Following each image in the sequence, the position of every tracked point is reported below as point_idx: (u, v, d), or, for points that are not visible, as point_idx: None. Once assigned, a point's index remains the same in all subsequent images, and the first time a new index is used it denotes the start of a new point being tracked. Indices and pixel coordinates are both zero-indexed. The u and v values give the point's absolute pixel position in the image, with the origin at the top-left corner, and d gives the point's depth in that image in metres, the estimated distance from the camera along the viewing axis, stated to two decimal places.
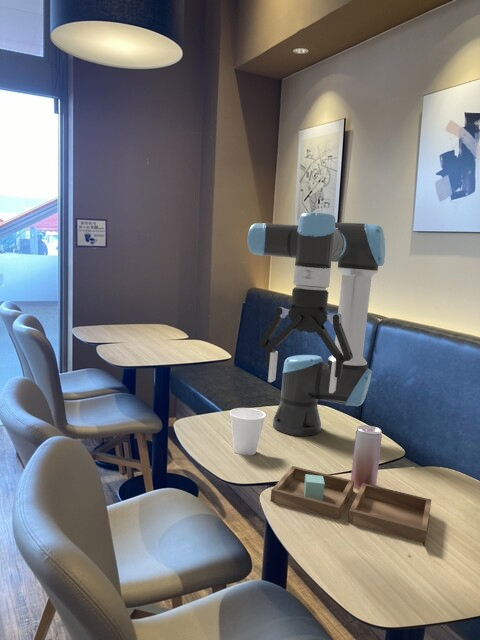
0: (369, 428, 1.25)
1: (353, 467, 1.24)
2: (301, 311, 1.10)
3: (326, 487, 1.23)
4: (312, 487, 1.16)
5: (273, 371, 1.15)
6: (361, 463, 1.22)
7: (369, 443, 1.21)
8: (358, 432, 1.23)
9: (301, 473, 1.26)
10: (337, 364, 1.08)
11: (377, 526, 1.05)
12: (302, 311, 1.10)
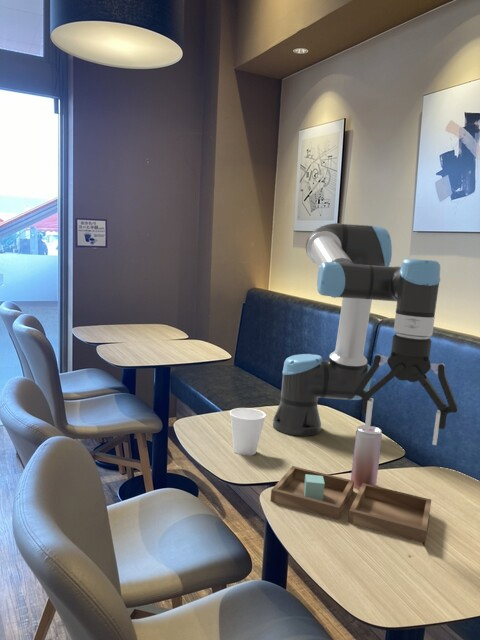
0: None
1: (353, 467, 1.24)
2: (402, 360, 1.06)
3: (326, 487, 1.23)
4: (312, 487, 1.16)
5: (369, 420, 1.11)
6: (361, 463, 1.22)
7: (369, 443, 1.21)
8: (358, 432, 1.23)
9: (301, 473, 1.26)
10: (441, 415, 1.05)
11: (377, 526, 1.05)
12: (403, 360, 1.06)
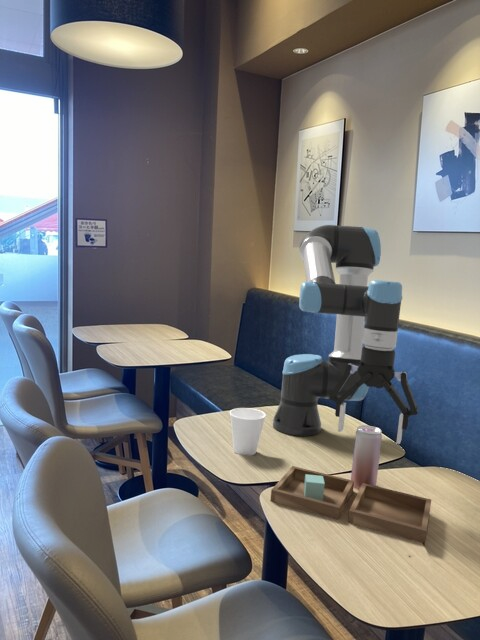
0: (369, 428, 1.25)
1: (353, 467, 1.24)
2: (370, 368, 1.21)
3: (326, 487, 1.23)
4: (312, 487, 1.16)
5: (342, 421, 1.25)
6: (361, 463, 1.22)
7: (369, 443, 1.21)
8: (358, 432, 1.23)
9: (301, 473, 1.26)
10: (404, 417, 1.19)
11: (377, 526, 1.05)
12: (371, 368, 1.21)
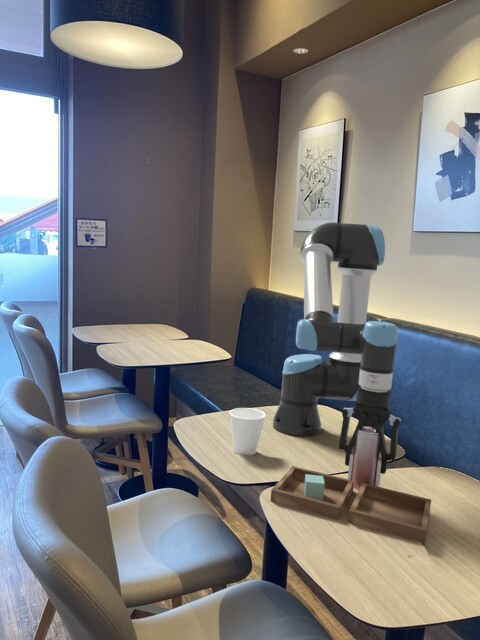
0: (369, 428, 1.25)
1: (353, 467, 1.24)
2: (364, 406, 1.23)
3: (326, 487, 1.23)
4: (312, 487, 1.16)
5: None
6: (360, 463, 1.22)
7: (369, 443, 1.21)
8: (358, 432, 1.23)
9: (301, 473, 1.26)
10: (382, 462, 1.22)
11: (377, 526, 1.05)
12: (365, 405, 1.22)
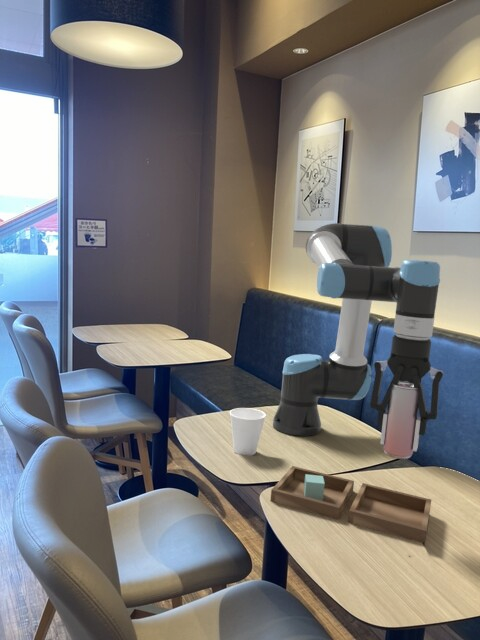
0: (405, 383, 1.09)
1: (387, 428, 1.08)
2: (400, 357, 1.07)
3: (326, 487, 1.23)
4: (312, 487, 1.16)
5: None
6: (396, 423, 1.06)
7: (407, 399, 1.05)
8: (393, 387, 1.07)
9: (301, 473, 1.26)
10: (421, 422, 1.07)
11: (377, 526, 1.05)
12: (401, 356, 1.07)
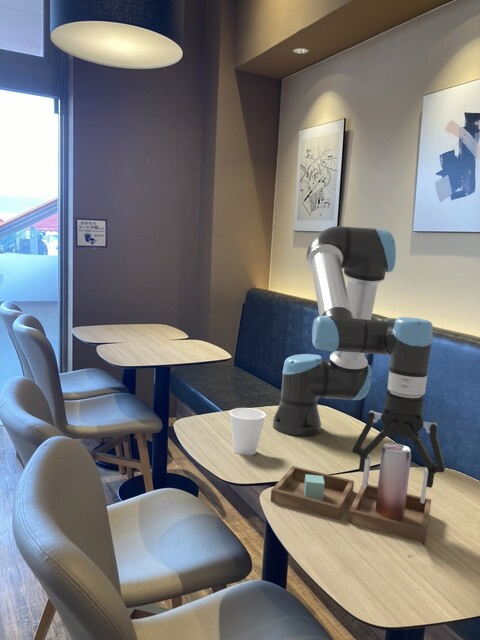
0: (396, 446, 1.11)
1: (379, 490, 1.10)
2: (395, 416, 1.08)
3: (326, 487, 1.23)
4: (312, 487, 1.16)
5: (367, 477, 1.12)
6: (388, 486, 1.08)
7: (397, 463, 1.07)
8: (384, 451, 1.09)
9: (301, 473, 1.26)
10: (429, 474, 1.07)
11: (377, 526, 1.05)
12: (396, 415, 1.08)
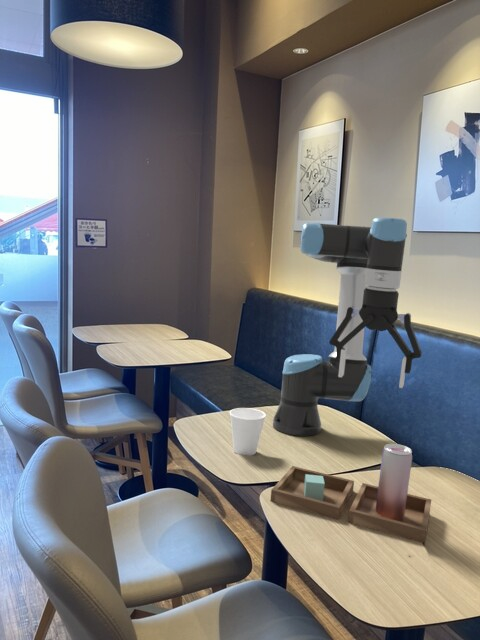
0: (397, 447, 1.10)
1: (379, 491, 1.10)
2: (372, 311, 1.16)
3: (326, 487, 1.23)
4: (312, 487, 1.16)
5: (343, 367, 1.21)
6: (388, 487, 1.08)
7: (398, 465, 1.07)
8: (385, 452, 1.09)
9: (301, 473, 1.26)
10: (407, 361, 1.15)
11: (377, 526, 1.05)
12: (373, 311, 1.16)
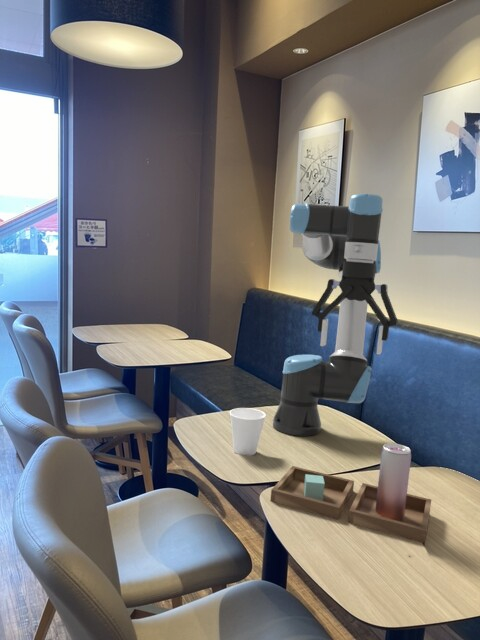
0: (396, 447, 1.11)
1: (379, 491, 1.10)
2: (351, 282, 1.24)
3: (326, 487, 1.23)
4: (312, 487, 1.16)
5: (324, 336, 1.29)
6: (387, 487, 1.08)
7: (397, 464, 1.07)
8: (384, 451, 1.09)
9: (301, 473, 1.26)
10: (384, 328, 1.22)
11: (377, 526, 1.05)
12: (352, 282, 1.24)
